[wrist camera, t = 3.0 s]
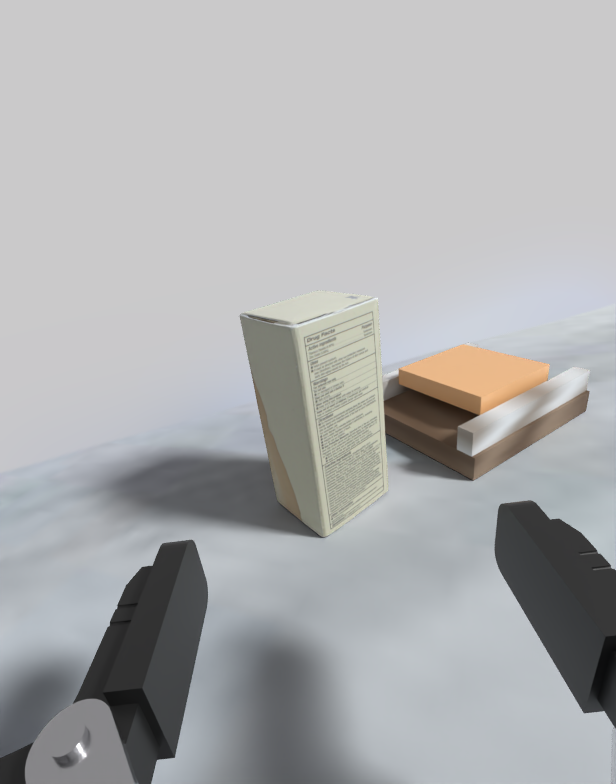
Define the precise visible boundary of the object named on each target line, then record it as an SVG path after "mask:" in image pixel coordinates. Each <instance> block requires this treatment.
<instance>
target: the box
mask: <svg viewBox="0 0 616 784" xmlns="http://www.w3.org/2000/svg"><path fill="white" fill-rule="evenodd" d="M378 311H379V310H378V299H377V298H376V297H370V296H364V295H355V294H346V293H337V292H330V291H314V292H311V293H308V294H304V295H301V296H298V297H295V298H291V299H288V300H285V301H281V302H278V303H275V304H272V305H268V306H264V307H261V308H257V309H254V310H251V311H248V312H244V313H242V314H241V315H240V320H241V324H242V329H243V335H244V340H245V344H246V349H247V354H248V359H249V364H250V369H251V374H252V378H253V383H254V388H255V393H256V399H257V404H258V409H259V413H260V418H261V423H262V428H263V433H264V438H265V443H266V448H267V453H268V458H269V463H270V468H271V473H272V478H273V483H274V487H275V492H276V497H277V500H278V502H279V503H280V504H281V505H283V506H284V507H285V508H286V509H287V510H289V511H290V512H291V513H292V514H293V515H295V516H296V517H297V518H298V519H299V520H301V521H302V522H303V523H304V524H306V525H307V526H308V527H309V528H311V529H312V530H313V531H315V532H316V533H317V534H319V535H320V536H321V537H327V536H328V535H330V534H331V533H333V532H334V531H336V530H337V529H339V528H340V527H342V526H343V525H344V524H346V523H347V522H348V521H350V520H351V519H352V518H354V517H355V516H356V515H357V514H359V513H360V512H361V511H363V510H364V509H365V508H367V507H368V506H370V505H371V504H372V503H373V502H375V501H376V500H377V499H378V498H379V497H381V496H382V495H383V494H385V493H386V492H387V491H388V475H387V455H386V438H385V420H384V401H383V384H382V365H381V349H380V331H379V330H380V329H379V312H378Z"/></svg>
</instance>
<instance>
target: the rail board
mask: <svg viewBox="0 0 616 784" xmlns="http://www.w3.org/2000/svg"><path fill="white" fill-rule="evenodd" d="M464 345H469V346H473V347H477V348H478V347H479V345H477V344H472V343H466V344H464ZM589 374H590V370H587V369H583V368H578V367H573V368H571V369H569V370H567V371H565V372H563V373H561V374H559V375H557V376H555V377H553V378H551V379H549V380H547V381H545V382H544V383H542V384H540V385H538V386H536V387H534V388H532V389H530V390H528V391H526V392H524V393H522V394H520V395H518V396H516V397H514V398H512V399H510V400H508V401H507V402H505V403H503V404H501V405H499V406H497V407H495V408H493V409H491V410H489V411H487V412H485V413H483V414H481V415H478V414H475V413H472V412H470V411H467V410H465V409H462V408H460V407H457V406H454V405H452V404H449V403H447V402H444V401H441V400H439V399H436V398H434V397H431V396H428V395H426V394H423V393H421V392H418V391H416V390H413V389H410V388H408V387H405V386H403V385H400V384H399V369H398V370H395V371H392V372H390V373H387V374H385V375H382V384H383V401H384V420H385V433H387V434H388V435H390V436H392V437H394V438H396V439H398V440H399V441H401V442H403V443H405V444H407V445H409V446H411V447H412V448H414V449H416V450H418V451H420V452H422V453H423V454H425V455H427V456H429V457H431V458H433V459H434V460H436V461H438V462H440V463H442V464H444V465H446V466H447V467H449V468H451V469H453V470H455V471H457V472H458V473H460V474H462V475H464V476H466V477H468V478H469V479H471V480H473V481H474V480H475V479H477V478H478V477H480V476H482V475H483V474H485V473H487V472H488V471H490V470H491V469H493V468H495V467H496V466H498V465H499V464H501V463H503V462H504V461H506V460H507V459H509V458H511V457H512V456H514V455H516V454H517V453H519V452H520V451H522V450H524V449H525V448H527V447H528V446H530V445H532V444H533V443H535V442H536V441H538V440H540V439H541V438H543V437H545V436H546V435H548V434H549V433H551V432H553V431H554V430H556V429H557V428H559V427H561V426H562V425H564V424H566V423H567V422H569V421H570V420H572V419H574V418H575V417H577V416H578V415H580V414H582V413H583V412H585V411H586V408H587V402H588V397H589V392H590V391H586V390H587V385H588V380H589Z"/></svg>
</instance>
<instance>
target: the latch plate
mask: <svg viewBox="0 0 616 784" xmlns="http://www.w3.org/2000/svg"><path fill="white" fill-rule="evenodd" d="M549 365H550V364H546V363H541V362H537V361H533V360H529V359H524V358H520V357H516V356H511V355H507V354H503V353H499V352H494V351H490V350H486V349H482V348H477V347H473V346H469V345H464V344H463V345H460V346H457V347H455V348H452V349H449V350H447V351H444V352H442V353H439V354H436V355H434V356H431V357H428V358H426V359H423V360H420V361H418V362H415V363H413V364H410V365H407V366H405V367H402V368H399V384H400V385H403V386H405V387H408V388H410V389H413V390H416V391H418V392H421V393H423V394H426V395H428V396H431V397H434V398H436V399H439V400H441V401H444V402H447V403H449V404H452V405H454V406H457V407H460V408H462V409H465V410H467V411H470V412H472V413H475V414H478V415H481V414H483V413H485V412H487V411H489V410H491V409H493V408H495V407H497V406H499V405H501V404H503V403H505V402H507V401H508V400H510V399H512V398H514V397H516V396H518V395H520V394H522V393H524V392H526V391H528V390H530V389H532V388H534V387H536V386H538V385H540V384H542V383H544V382H545V381H547V379H548V372H549Z"/></svg>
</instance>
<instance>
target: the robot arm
mask: <svg viewBox="0 0 616 784" xmlns="http://www.w3.org/2000/svg"><path fill="white" fill-rule="evenodd" d="M495 557H496V561H497V564H498V567H499V569H500V572H501V574H502V575H503V577H504V579H505V580H506V582H507V584H508V585H509V587H510V589H511V591H512V592H513V594H514V596H515V597H516V599H517V601H518V602H519V604H520V606H521V607H522V609H523V611H524V613H525V614H526V616H527V618H528V619H529V621H530V623H531V624H532V626H533V628H534V630H535V631H536V633H537V635H538V636H539V638H540V640H541V641H542V643H543V645H544V646H545V648H546V650H547V652H548V653H549V655H550V657H551V658H552V660H553V662H554V663H555V665H556V667H557V668H558V670H559V672H560V674H561V675H562V677H563V679H564V680H565V682H566V684H567V685H568V687H569V689H570V690H571V692H572V694H573V696H574V697H575V699H576V701H577V702H578V704H579V706H580V707H581V709H582V711H583V712H584V713H591V712H600V711H605V713H606V714H607V716H608V717H609V719H610V721H611V722H612V724H613V725H614V728H613V732H612V761H611V784H616V570H615V569H612V568H611V565H610V564H609V563H608V562H607V561H606V560H605V558H604V557H603V556H602V555H601V554H598V553H597V550H596V549H595V548H594V546H593V545H592V544H591V543H590V542H589V541H588V540H587V539H586V538H585V537H584V536H583V534H582V533H581V532H579V531H577V530H576V529H574V528H573V527H571V526H570V525H568V524H566V523H565V522H563V521H562V520H560V519H552V520H550V519H549V518H548V517H547V515H546V514H545V513H544V512H543V511H542V510H541V508H540V507H539V506H538V505H537V504H536V503H535V502H533V501H522V502H513V503H505V504H501V505H500V506H499V509H498V518H497V528H496V538H495ZM207 602H208V587H207V581H206V577H205V574H204V571H203V568H202V564H201V561H200V558H199V554H198V551H197V548H196V545H195V542H194V541H193V540H186V541H177V542H169V543H163V544H162V545H161V547H160V549H159V551H158V554H157V556H156V559H155V561H154V564H153V566H147V567H142V568H141V569H140V570H139V571H138V572H137V574H136V575H135V576H134V577H133V578H132V579H131V580H130V582H129V583H128V584H127V585H126V587H125V589H124V592H123V594H122V596H121V598H120V601H119V603H118V605H117V606H118V608H117V609H116V610H115V612H114V614H113V616H112V619H111V621H110V626H109V627H108V628H107V630H106V632H105V635H104V637H103V639H102V641H101V644H100V646H99V648H98V650H97V653H96V655H95V657H94V659H93V662H92V664H91V666H90V668H89V671H88V673H87V675H86V677H85V680H84V682H83V684H82V686H81V689H80V691H79V693H78V695H77V697H76V699H75V701H74V703H73V704H72V705H70V706H68V707H67V708H65V709H63V710H62V711H61V712H59V713H58V714H57V715H56V716H55V717H54V718H53V719H52V720H50V721H49V723H48V724H47V725H46V726H45V727H44V728H43V730H42V731H41V732H40V734H39V735H38V736H37V738H36V740H35V741H34V742H33V743H31V744H30V745H28V746H26V747H24V748H22V749H19V750H17V751H15V752H13V753H11V754H9V755H6V756H4V757H2V758H0V784H151V781H152V777H153V773H154V769H155V765H156V761H157V760H159V759H167V758H175V754H176V749H177V744H178V740H179V735H180V730H181V725H182V721H183V716H184V711H185V707H186V702H187V697H188V693H189V688H190V683H191V679H192V674H193V669H194V665H195V660H196V655H197V651H198V646H199V641H200V637H201V632H202V627H203V622H204V618H205V613H206V608H207Z"/></svg>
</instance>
